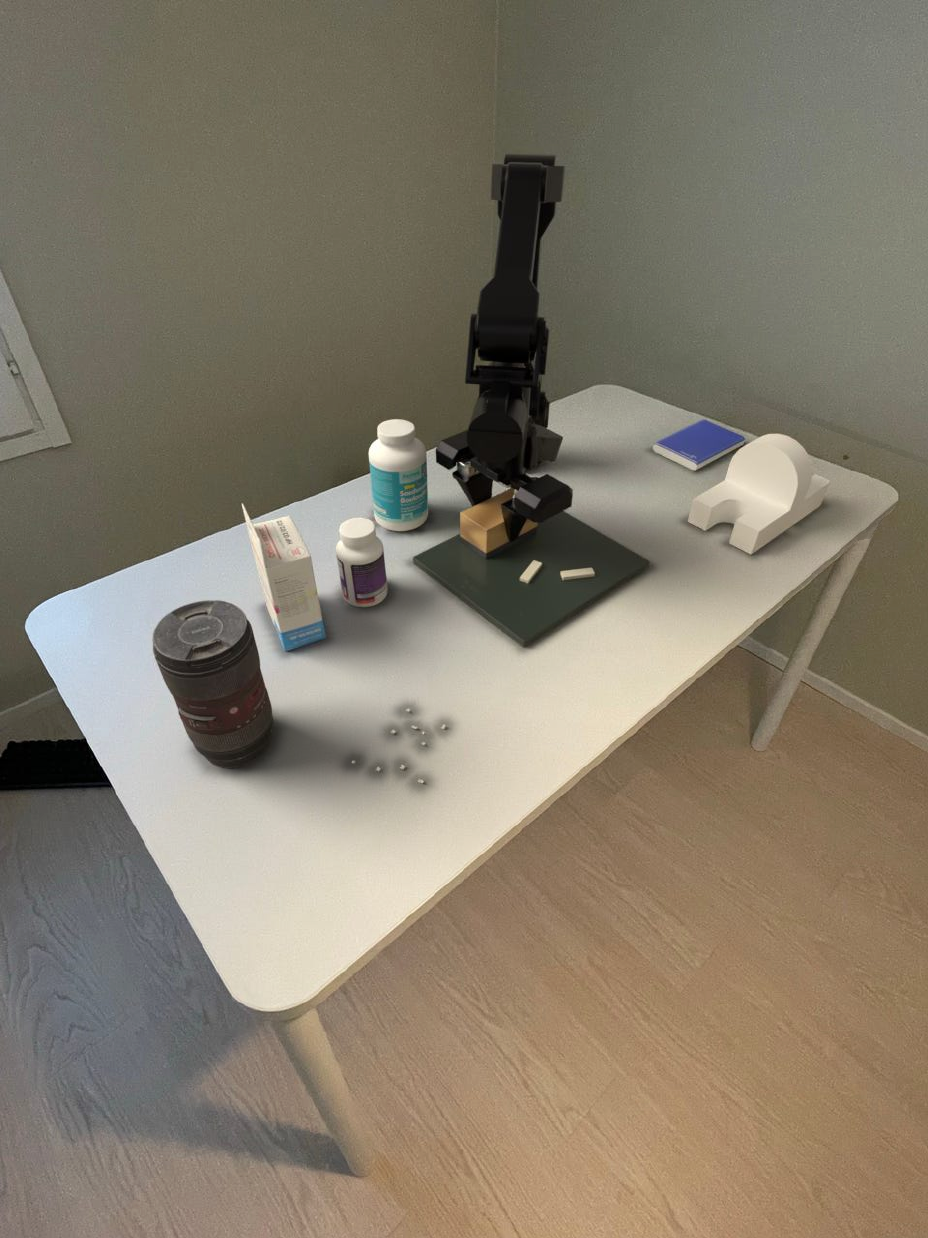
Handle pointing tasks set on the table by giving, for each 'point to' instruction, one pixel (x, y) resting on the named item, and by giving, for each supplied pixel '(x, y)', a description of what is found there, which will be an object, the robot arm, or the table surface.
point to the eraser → (490, 526)
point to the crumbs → (422, 744)
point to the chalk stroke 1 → (530, 571)
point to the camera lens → (215, 680)
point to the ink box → (287, 580)
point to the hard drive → (698, 444)
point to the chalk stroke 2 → (577, 573)
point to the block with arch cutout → (761, 492)
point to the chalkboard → (547, 594)
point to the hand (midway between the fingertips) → (498, 531)
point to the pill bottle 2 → (398, 476)
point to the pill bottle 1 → (361, 563)
